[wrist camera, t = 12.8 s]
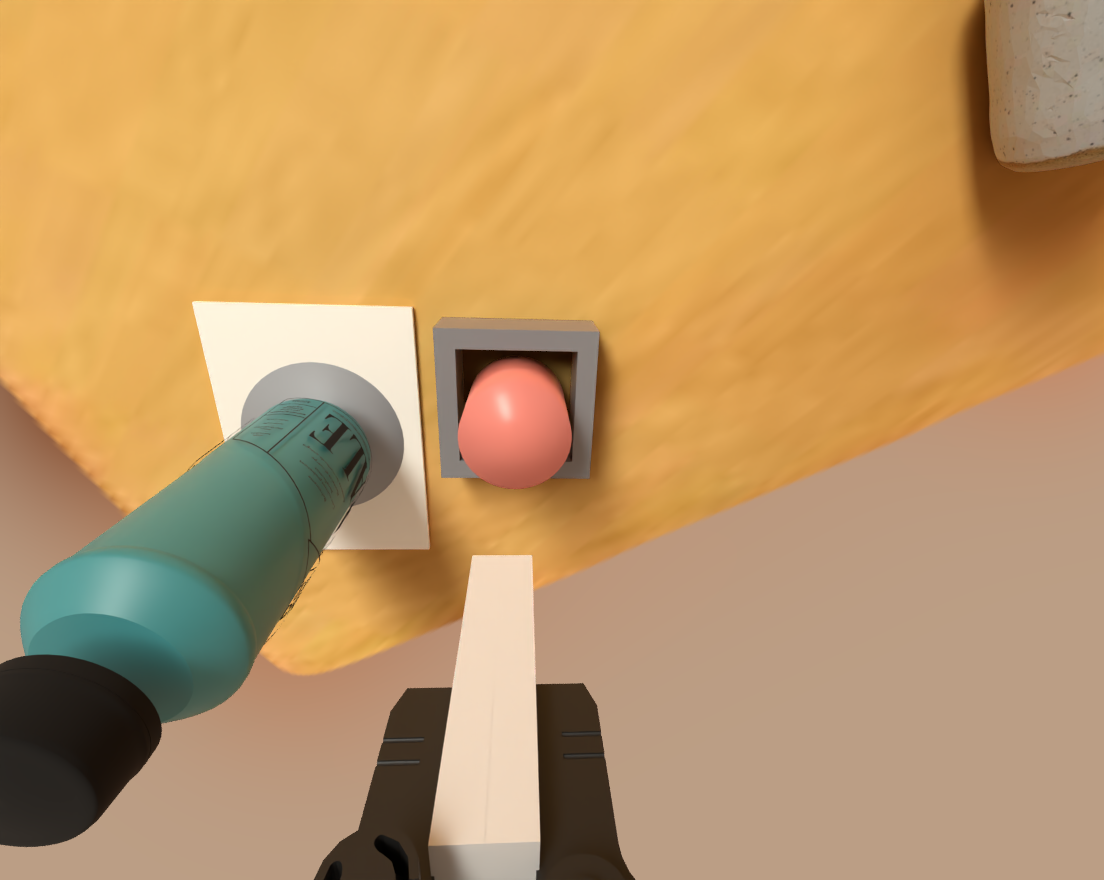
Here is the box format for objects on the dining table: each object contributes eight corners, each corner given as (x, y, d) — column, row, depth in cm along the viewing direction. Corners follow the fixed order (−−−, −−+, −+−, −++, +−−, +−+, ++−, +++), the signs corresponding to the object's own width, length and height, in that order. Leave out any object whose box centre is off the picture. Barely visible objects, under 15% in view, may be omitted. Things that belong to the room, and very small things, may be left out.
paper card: (195, 301, 26) (191, 302, 26) (412, 306, 27) (411, 307, 27) (252, 546, 32) (250, 549, 32) (430, 546, 33) (429, 549, 32)
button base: (442, 317, 27) (432, 327, 24) (592, 320, 28) (599, 331, 25) (449, 454, 30) (441, 477, 28) (583, 455, 31) (589, 478, 28)
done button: (467, 354, 26) (455, 383, 21) (566, 356, 26) (574, 384, 22) (470, 444, 28) (459, 488, 23) (561, 445, 28) (569, 489, 24)
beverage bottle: (242, 441, 29) (-246, 821, 11) (311, 358, 27) (-124, 638, 9) (338, 509, 31) (68, 928, 13) (408, 436, 29) (214, 795, 11)
